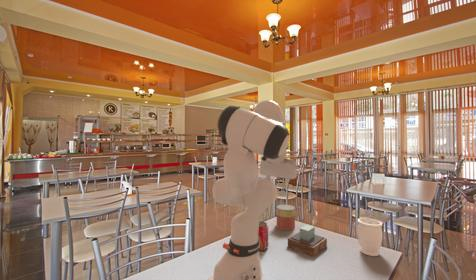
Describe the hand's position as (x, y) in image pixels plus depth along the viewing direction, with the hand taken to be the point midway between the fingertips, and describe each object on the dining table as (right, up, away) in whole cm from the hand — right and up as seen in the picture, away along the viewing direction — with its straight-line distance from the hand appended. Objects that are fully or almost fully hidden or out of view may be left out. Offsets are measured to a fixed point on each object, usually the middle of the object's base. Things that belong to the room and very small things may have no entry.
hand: (277, 185), depth 113 cm
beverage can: (-9, -31, 0) cm, 32 cm away
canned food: (+10, -31, +27) cm, 42 cm away
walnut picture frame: (+15, -31, +2) cm, 35 cm away
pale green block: (+15, -27, +2) cm, 31 cm away
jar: (+44, -32, -4) cm, 54 cm away
